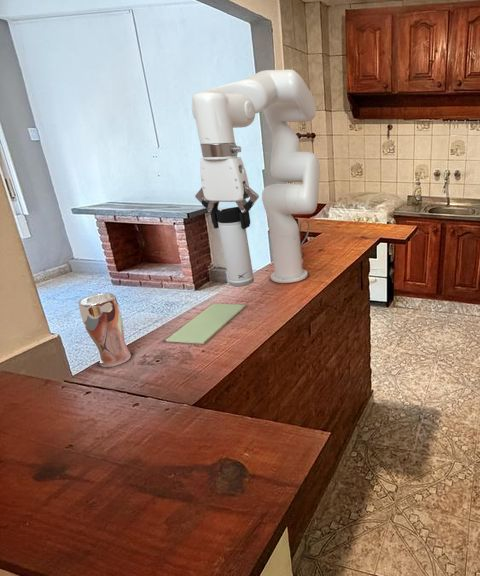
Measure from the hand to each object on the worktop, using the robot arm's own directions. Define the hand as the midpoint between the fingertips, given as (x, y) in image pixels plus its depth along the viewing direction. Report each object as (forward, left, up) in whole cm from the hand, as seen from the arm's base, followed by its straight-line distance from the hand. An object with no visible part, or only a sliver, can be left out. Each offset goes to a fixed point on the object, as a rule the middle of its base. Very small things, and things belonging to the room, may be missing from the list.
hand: (232, 226), depth 99 cm
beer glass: (+23, -20, -26) cm, 40 cm away
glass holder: (-59, -6, -26) cm, 64 cm away
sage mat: (+3, -9, -25) cm, 27 cm away
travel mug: (-1, 0, -15) cm, 15 cm away
